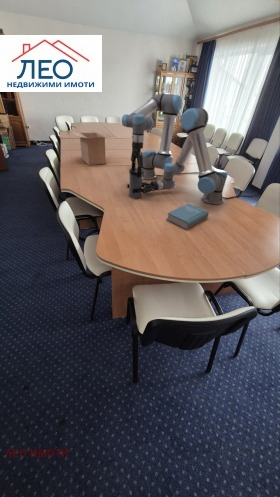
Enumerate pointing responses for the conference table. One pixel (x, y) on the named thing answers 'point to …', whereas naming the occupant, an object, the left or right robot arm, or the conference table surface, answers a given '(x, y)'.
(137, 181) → the jar
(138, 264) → the conference table surface
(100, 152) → the box
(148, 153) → the left robot arm
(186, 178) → the conference table surface
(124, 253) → the conference table surface
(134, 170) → the lid
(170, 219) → the book
